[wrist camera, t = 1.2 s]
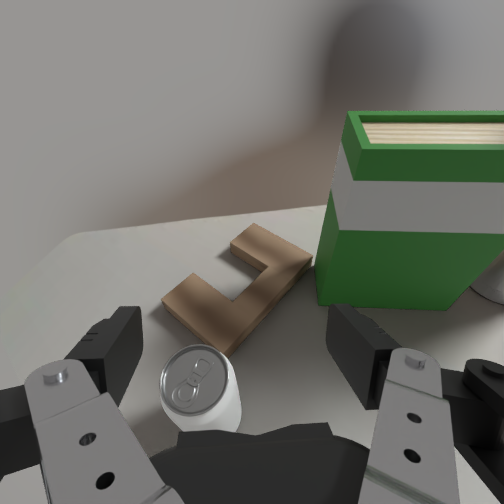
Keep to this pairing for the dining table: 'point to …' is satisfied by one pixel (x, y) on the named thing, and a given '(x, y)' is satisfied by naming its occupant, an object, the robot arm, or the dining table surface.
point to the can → (200, 390)
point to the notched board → (249, 301)
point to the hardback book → (412, 208)
